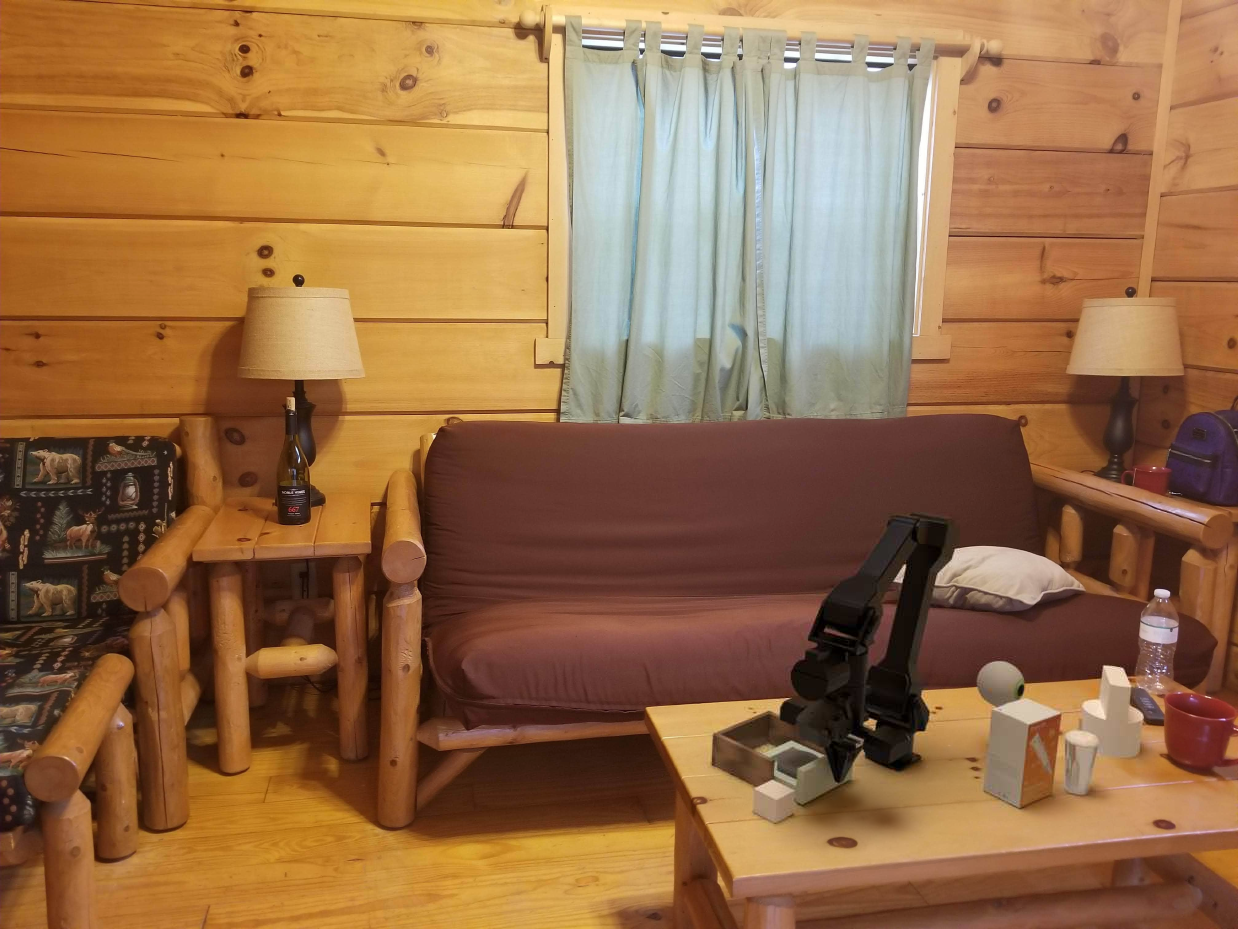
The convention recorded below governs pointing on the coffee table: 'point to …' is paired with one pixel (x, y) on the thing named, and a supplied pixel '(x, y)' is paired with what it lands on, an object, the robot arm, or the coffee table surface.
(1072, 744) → the milkshake
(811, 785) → the tray
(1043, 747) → the small box
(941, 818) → the coffee table surface
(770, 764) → the holder
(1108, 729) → the base with upright slab
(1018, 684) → the eyeball
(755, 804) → the block
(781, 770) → the cylinder
